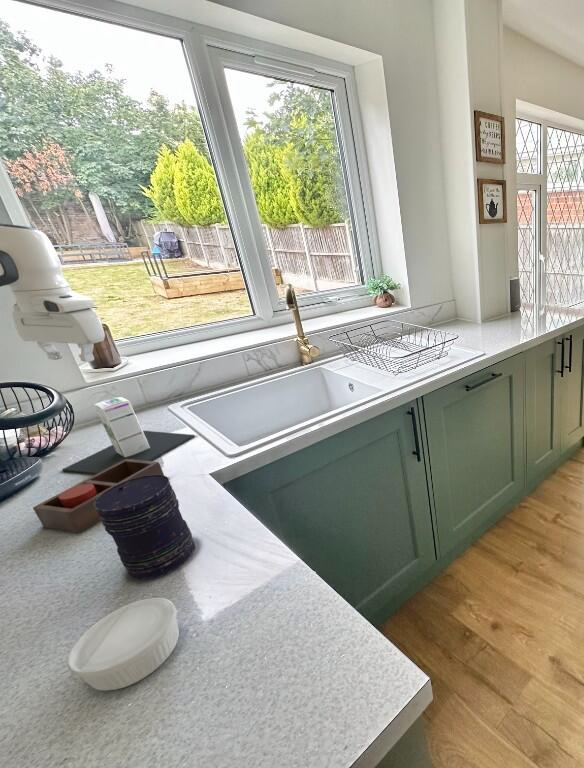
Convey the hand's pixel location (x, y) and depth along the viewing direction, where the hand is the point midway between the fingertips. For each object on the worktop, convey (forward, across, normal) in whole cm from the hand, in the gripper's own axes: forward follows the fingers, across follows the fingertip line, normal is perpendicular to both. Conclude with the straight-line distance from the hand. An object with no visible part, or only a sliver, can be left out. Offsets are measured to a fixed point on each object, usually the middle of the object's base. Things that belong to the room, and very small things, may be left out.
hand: (72, 360), depth 97 cm
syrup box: (+27, +2, +4) cm, 27 cm away
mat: (+27, +2, +4) cm, 27 cm away
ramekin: (+28, +60, -42) cm, 78 cm away
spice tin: (+27, +18, -19) cm, 37 cm away
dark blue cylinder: (+27, +46, -26) cm, 59 cm away
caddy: (+27, +18, -14) cm, 35 cm away
